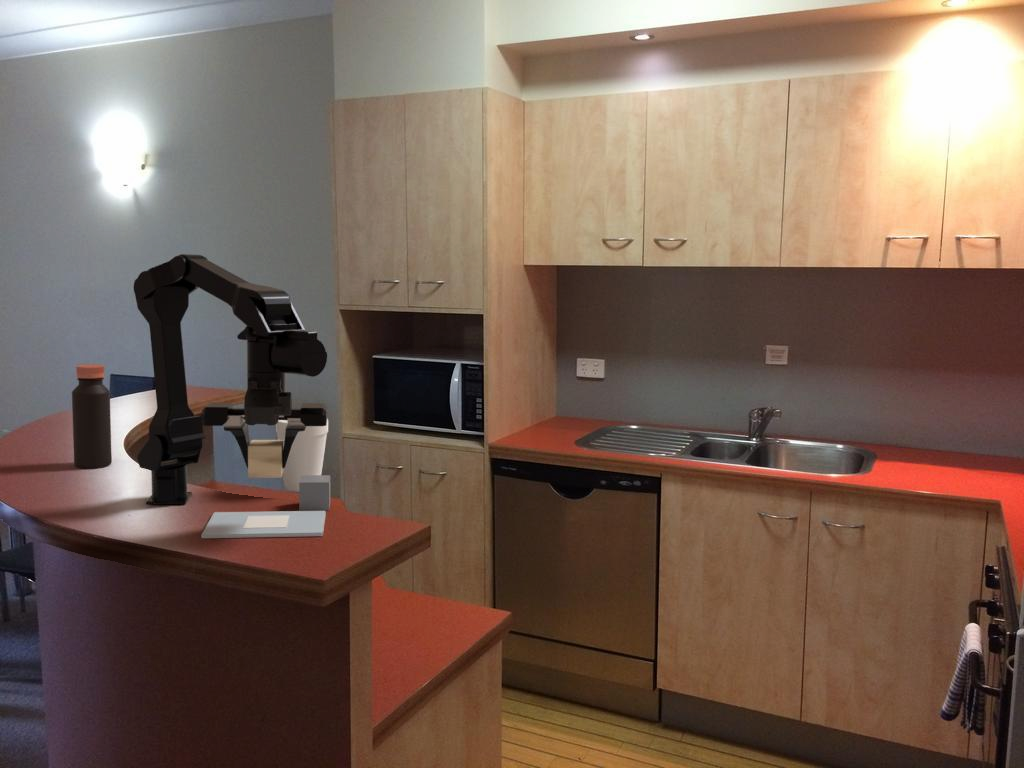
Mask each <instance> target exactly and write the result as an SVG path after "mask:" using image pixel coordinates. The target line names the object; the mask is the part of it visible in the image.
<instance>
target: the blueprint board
mask: <svg viewBox="0 0 1024 768" xmlns="http://www.w3.org/2000/svg"><path fill="white" fill-rule="evenodd" d="M326 511H327V510H317V511H299V510H294V511H293V510H292V511H291V510H285V511H279V510H278V511H273V510H272V511H215V512H214V511H213V514H212V516H211V517H210V519H209V521H208V522H207V524H206V526H205V528H204V530H203V532H202V533H201V534H200V535H201V539H237V538H240V539H241V538H244V539H245V538H246V539H247V538H286V537H287V538H293V537H296V538H297V537H324V529H325V522H326V516H327V515H326V514H327V513H326Z"/></svg>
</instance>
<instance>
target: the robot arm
mask: <svg viewBox="0 0 1024 768" xmlns="http://www.w3.org/2000/svg"><path fill="white" fill-rule="evenodd" d="M198 289H201V290H202V291H205V292H206V293H207V294H209V295H211V296H212V297H215V298H217V299H218V300H220V301H222V302H224V303H226V304H227V305H228V306H230V308H231V310H232V313H233V315H234V316H235V317H236V318H237V319H238V320H239V321H241V322H242V323H243V324H244V325H245V327H244V329H243V330H241V331H240V332H239V334H237V337H236V338H237V339H238V340H241V341H246V361H247V362H246V369H247V372H246V373H247V374H246V381H247V384H246V385H247V386H246V392H245V394H244V403H243V406H244V407H234V405H233V402H209V403H208V404H207V405H206V406H205V407H204V408H203V409H202V410H201V414H200V415H195V413H194V412H193V411H192V409H191V408H190V406H189V400H188V390H187V387H188V386H187V380H186V379H187V378H186V367H185V358H184V357H185V356H184V348H183V335H182V321H183V319H184V317H185V314H186V312H187V311H188V309H189V303H190V302H189V301H190V298H189V297H190V295H191V294H192V293H193V292H195V291H197V290H198ZM133 292H134V296H135V301H136V305H137V307H136V308H137V309H138V311H139V313H140V314H141V315H142V317H143V318H144V319H145V320H146V322H147V323H148V325H149V334H150V344H151V353H152V354H151V356H152V366H153V376H154V377H153V378H154V386H155V387H154V389H155V397H156V398H155V399H156V411H155V413H154V415H153V416H152V419H151V420H150V422H149V426H148V440H147V442H146V443H145V444H144V446H143V447H142V448H141V450H140V451H139V452H138V454H137V456H136V458H137V462H138V467H139V469H140V468H141V469H144V470H145V469H146V470H149V471H151V495H150V496H149V497H148V498H147V499H146V502H145V503H146V505H185V504H187V503H188V501H189V500H190V498H191V497H192V496H193V492H192V491H188V474H187V467H188V466H187V465H190V464H191V465H192V464H198V462H199V458H200V455H201V451H202V449H203V444H204V439H205V438H206V437H205V434H204V431H203V427H205V426H206V427H207V426H208V427H209V426H210V427H219V426H221V427H222V426H224V427H223V430H224V431H225V432H230V433H231V434H232V435H233V437H234V439H235V441H236V442H237V444H238V446H239V449H240V452H241V455H242V458H243V460H244V463H245V465H246V468H247V469H248V446H249V444H250V442H251V441H250V434H249V431H250V430H249V426H255V425H267V426H276V424H277V423H278V420H288V424H287V427H286V431H285V441H284V449H283V456H282V468H285V466H286V463H287V459H288V456H289V453H290V450H291V447H292V444H293V442H294V440H295V438H296V435H297V433H298V432H299V431H305V429H306V426H326V424H327V418H328V406H327V405H326V403H323V402H322V403H319V402H318V403H316V402H315V403H313V402H312V403H311V402H308V403H302V405H301V407H300V408H293V400H292V399H293V398H292V396H293V395H292V392H291V391H289V392H288V391H286V374H290V375H297V376H305V377H310V378H311V377H312V378H313V377H317V376H319V375H320V374H321V373H322V372H323V371H324V369H325V367H326V365H327V363H328V362H327V361H328V352H327V351H326V348H325V346H324V344H323V342H322V341H321V340H319V339H318V332H317V331H316V330H306V329H305V326H304V325H303V322H302V321H301V319H300V317H299V315H298V313H297V311H296V309H295V307H294V306H293V303H292V301H291V296H290V295H289V294H288V293H287V292H286V290H282V289H278V288H276V287H273V286H267V285H261V284H256V283H252V282H251V283H250V282H249V281H247V280H245V279H244V278H242V277H239V276H238V275H236V274H234V273H233V272H231V271H228V270H227V269H225V268H223V267H221V266H220V265H217V264H216V263H214V262H212V261H210V260H209V259H208V258H207V257H206V256H204V255H202V254H192V253H191V254H189V253H188V254H187V253H185V254H184V253H181V254H178V255H176V256H173V258H171V259H170V260H169V261H166V262H164V263H161V264H158V265H155V266H152V267H150V268H149V269H148V270H143V271H141V272H140V273H139V275H138V276H137V278H136V279H135V280H134V282H133Z"/></svg>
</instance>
